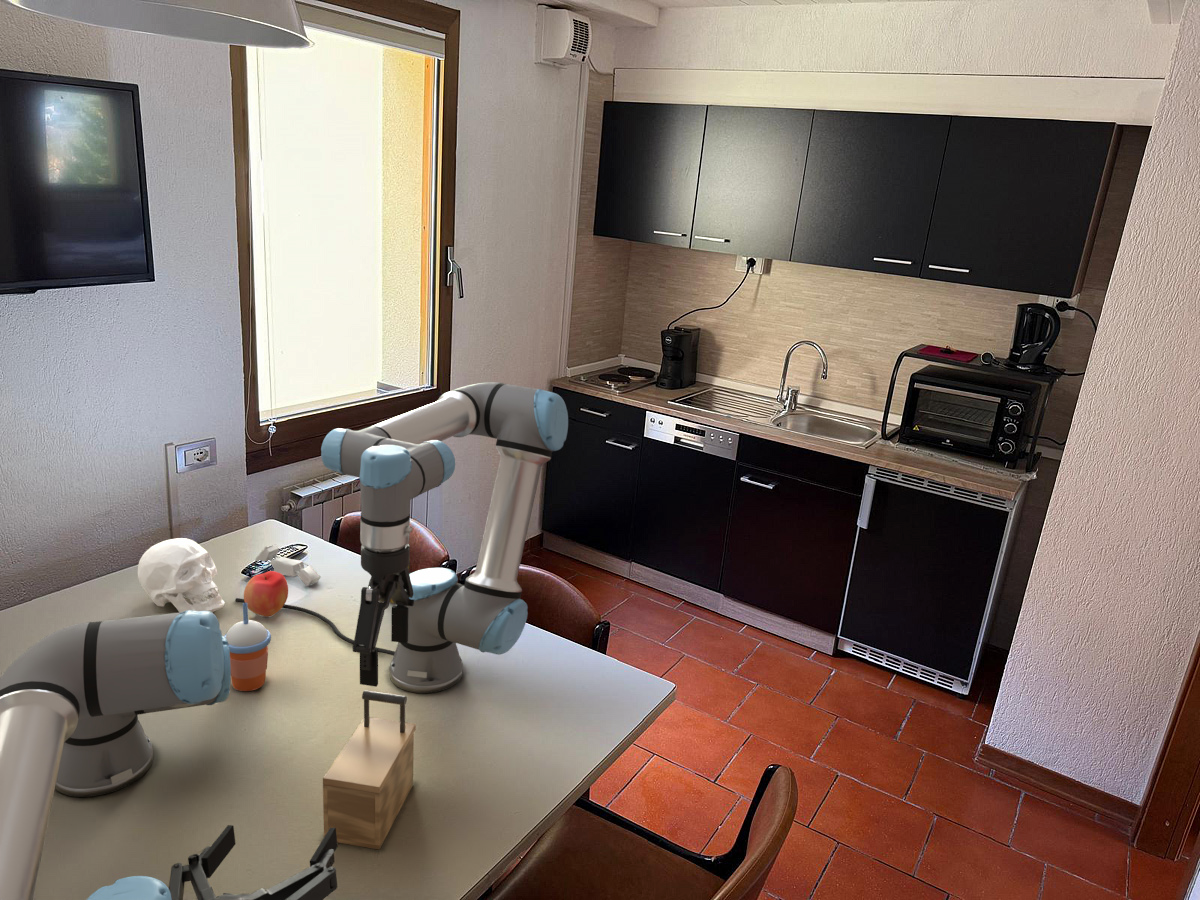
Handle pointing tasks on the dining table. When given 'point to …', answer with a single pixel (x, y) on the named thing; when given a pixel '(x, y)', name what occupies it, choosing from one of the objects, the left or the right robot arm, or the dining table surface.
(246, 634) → the cup with straw
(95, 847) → the dining table surface
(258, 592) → the apple
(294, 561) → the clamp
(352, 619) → the dining table surface
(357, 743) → the lid
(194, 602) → the skull
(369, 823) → the chest
